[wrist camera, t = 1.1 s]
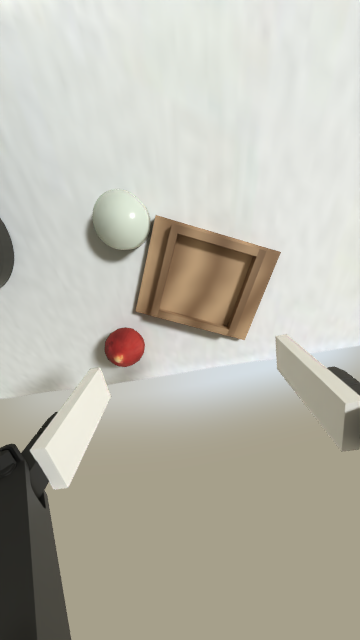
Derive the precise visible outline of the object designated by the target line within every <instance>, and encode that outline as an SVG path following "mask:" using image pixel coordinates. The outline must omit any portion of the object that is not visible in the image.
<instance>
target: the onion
mask: <svg viewBox="0 0 360 640" xmlns="http://www.w3.org/2000/svg"><path fill="white" fill-rule="evenodd" d="M144 347H145V343H144V340H143V338H142V336H141V335H140V334H139V333H138V332H137V331H135V330H134V329H131V328H120V329H117V330H116V331H114V332H112V333H111V334H110V335H109V337H108V338H107V340H106V342H105V354H106V356H107V358H108V360H109V361H111V362H112V363H113V364H115V365H117V366H120V367H127V366H131V365H133V364H135V363H136V362H138V361H139V360H140V358H141V357H142V355H143V353H144Z"/></svg>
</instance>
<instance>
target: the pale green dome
mask: <svg viewBox="0 0 360 640" xmlns="http://www.w3.org/2000/svg"><path fill="white" fill-rule="evenodd" d="M92 217H93V225H94V228H95V231H96V233H97V234H98V236H99V237H100V239H101V240H102V241H103V242H104V243H105V244H107V245H108V246H110V247H112V248H115V249H120V250H130V249H135V248H138V247H139V246H141V245H142V244H143V243H144V242H145V241H146V240H147V238H148V236H149V233H150V229H151V220H150V216H149V213H148V211H147V209H146V207H145V206H144V205H143V204H142V203H141V201H140V200H139V199H138V198H137V197H136V196H134V195H133V194H132V193H130V192H128V191H125V190H121V189H113V190H109V191H107V192H105V193H104V194H102V195H101V196H100V197H99V198H98V200H97V201H96V203H95V205H94V209H93V216H92Z"/></svg>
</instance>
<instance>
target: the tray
mask: <svg viewBox="0 0 360 640" xmlns="http://www.w3.org/2000/svg"><path fill="white" fill-rule="evenodd" d="M280 253H281V252H279V251H275V250H272V249H268V248H265V247H262V246H258V245H255V244H251V243H248V242H245V241H241V240H238V239H235V238H231V237H228V236H224V235H221V234H218V233H214V232H211V231H208V230H204V229H201V228H197V227H194V226H191V225H187V224H184V223H181V222H177V221H174V220H170V219H167V218H164V217H160V216H157V215H156V216H155V221H154V226H153V230H152V235H151V240H150V245H149V250H148V254H147V259H146V264H145V269H144V274H143V278H142V283H141V288H140V293H139V298H138V302H137V307H136V312H140V313H143V314H147V315H150V316H154V317H158V318H162V319H165V320H169V321H173V322H177V323H181V324H184V325H188V326H192V327H196V328H200V329H203V330H207V331H211V332H215V333H219V334H222V335H226V336H230V337H235V338H238V339H242V340H245V338H246V335H247V333H248V330H249V328H250V326H251V323H252V321H253V318H254V316H255V313H256V311H257V309H258V306H259V304H260V301H261V299H262V297H263V294H264V292H265V289H266V287H267V284H268V282H269V280H270V277H271V275H272V272H273V270H274V267H275V265H276V263H277V260H278V258H279V255H280Z"/></svg>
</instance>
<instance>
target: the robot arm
mask: <svg viewBox="0 0 360 640" xmlns="http://www.w3.org/2000/svg"><path fill="white" fill-rule="evenodd" d="M13 263H14V251H13V245H12V241H11V238H10V235H9V233H8V231H7V229H6V227H5V225H4V223H3V222H2V220H1V219H0V287H1V286H3V285H4V284H5V282H6V281H7V280H8V278H9V276H10V274H11V272H12V269H13ZM276 356H277V369H278V370H279V372H280V373H281V375H282V376H283V377H284V378H285V380H286V381H287V382H288V383H289V385H290V386H291V387H292V389H293V390H294V391H295V393H296V394H297V395H298V396H299V398H300V399H301V400H302V402H303V403H304V404H305V405H306V407H307V408H308V409H309V411H310V412H311V413H312V414H313V415H314V417H315V418H316V419H317V421H318V422H319V423H320V425H321V426H322V427H323V428H324V430H325V431H326V432H327V434H328V435H329V436H330V438H331V439H332V440H333V441H334V442H335V444H336V445H337V447H338V448H339V449H340V450H341V452H342V451H350V450H358V449H359V447H360V383H359V382H358V381H357V380H356V379H354V378H353V377H352V376H351V375H349V374H348V373H347V372H345V371H344V370H341V369H339V368H337V367H328V368H326V367H325V366H323V365H322V364H321V363H320V362H319V361H318V360H316V359H315V358H314V357H313V356H312V355H310V354H309V353H308V352H307V351H306V350H305V349H303V348H302V347H301V346H300V345H299V344H297V343H296V342H295V341H294V340H293V339H291V338H290V337H289V336H288V335H287V334H286V335H280V336H276ZM110 398H111V395H110V392H109V389H108V387H107V384H106V382H105V379H104V376H103V374H102V371H101V369H100V367H98V368H92V369H90V370H89V371H88V373H87V374H86V375H85V377H84V378H83V379H82V381H81V382H80V383H79V385H78V386H77V387H76V389H75V390H74V392H73V393H72V394H71V395H70V397H69V398H68V400H67V401H66V402H65V404H64V405H63V406H62V408H61V409H60V410H59V412H55V413H54V414H53V415H52V416H51V417H50V418H48V419H47V421H46V422H45V423H44V425H43V426H42V428H40V430H39V431H38V432H37V434H36V435H35V436H34V437H33V439H32V440H31V441H30V443H29V444H28V445H27V446H26V448H25V449H24V450H23V452H22V453H20V451H19V450H18V448H17V446H16V445H15V444H9V445H5V446H3V447H1V448H0V640H71V636H70V630H69V624H68V618H67V612H66V606H65V600H64V594H63V588H62V582H61V576H60V570H59V564H58V558H57V552H56V546H55V540H54V534H53V528H52V522H51V515H50V509H49V504H48V498H47V494H46V492H45V490H44V489H45V488H46V486H47V484H48V482H49V483H50V484H51V486H52V488H53V489H54V490H55V489H62V488H68V487H69V485H70V483H71V480H72V478H73V476H74V474H75V472H76V470H77V468H78V465H79V464H80V461H81V459H82V457H83V455H84V453H85V451H86V449H87V446H88V444H89V442H90V440H91V437H92V436H93V434H94V432H95V430H96V427H97V425H98V423H99V421H100V419H101V417H102V415H103V412H104V410H105V408H106V406H107V404H108V402H109V400H110Z"/></svg>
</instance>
